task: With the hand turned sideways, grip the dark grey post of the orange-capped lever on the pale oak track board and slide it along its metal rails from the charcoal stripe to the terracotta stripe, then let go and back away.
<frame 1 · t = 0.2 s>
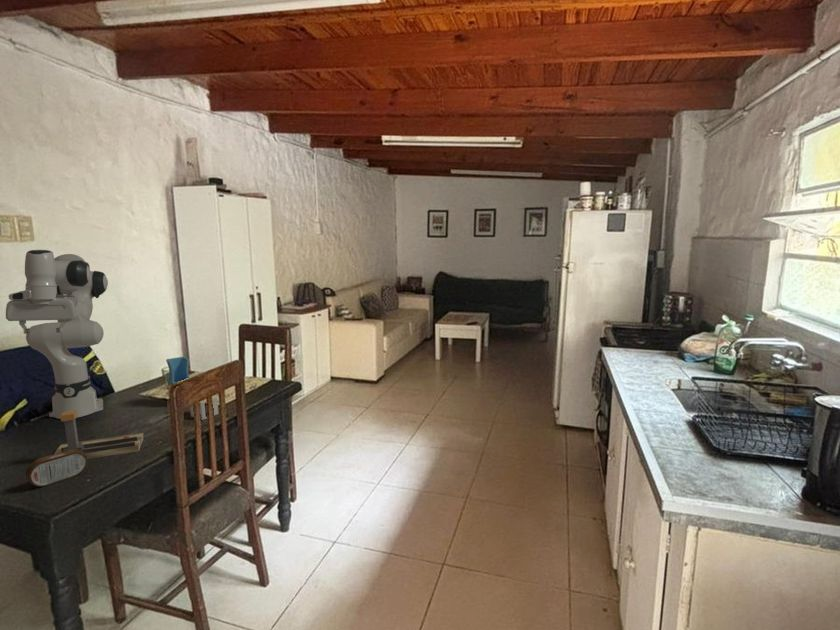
hand: (43, 333, 171), 39 cm above the table, tool pointing down, fingers open, 8 cm apart
fader lever: (71, 432, 157), point 9 cm above the table, slide at 0.0 cm
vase: (181, 403, 210), on the table
tin: (60, 481, 144), on the table
fader board: (100, 450, 164), on the table
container: (204, 415, 195), on the table
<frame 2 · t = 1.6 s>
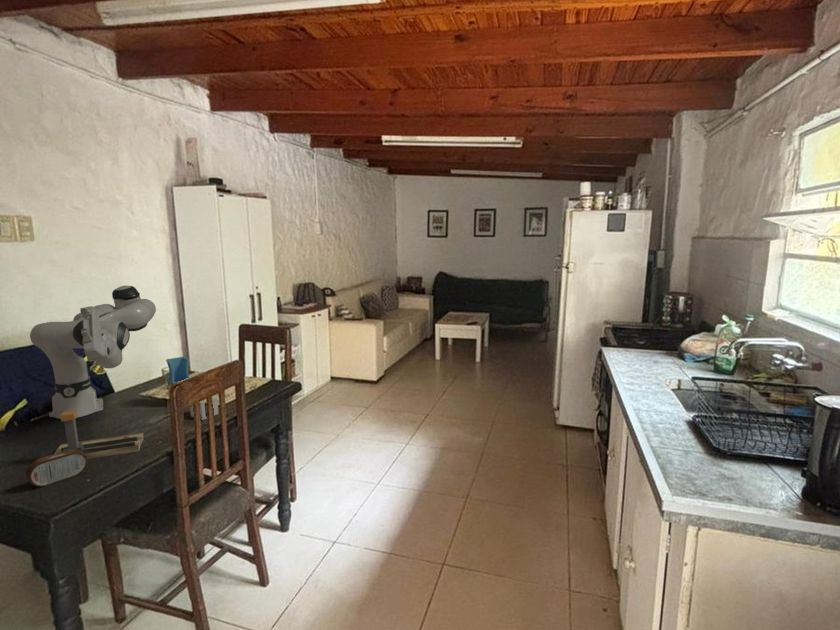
hand: (83, 319, 165), 44 cm above the table, tool pointing upward, fingers open, 8 cm apart
nothing on the table moved.
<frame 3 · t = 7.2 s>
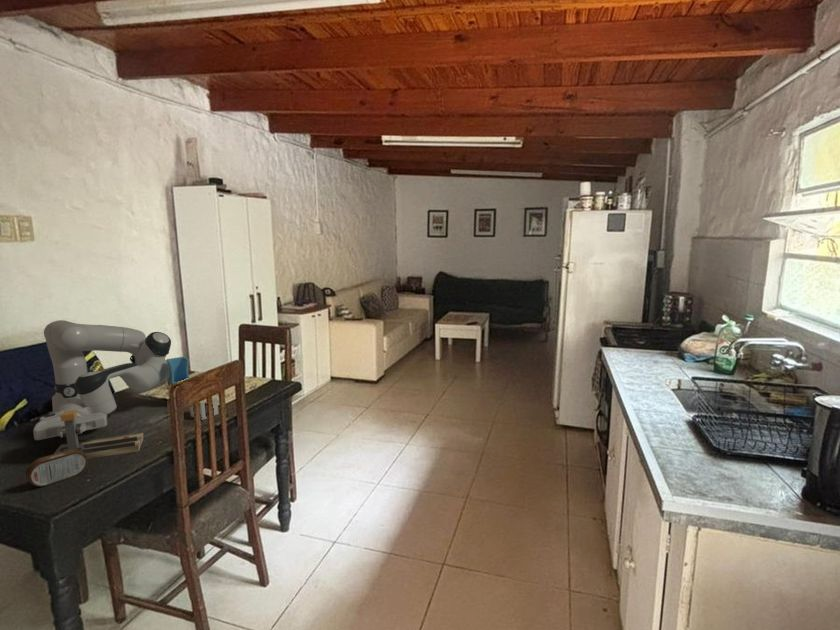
hand: (71, 433, 156), 9 cm above the table, tool horizontal, fingers closed on fader lever, 3 cm apart
fader lever: (71, 432, 157), point 9 cm above the table, slide at 0.0 cm, touching gripper
everything else where it was.
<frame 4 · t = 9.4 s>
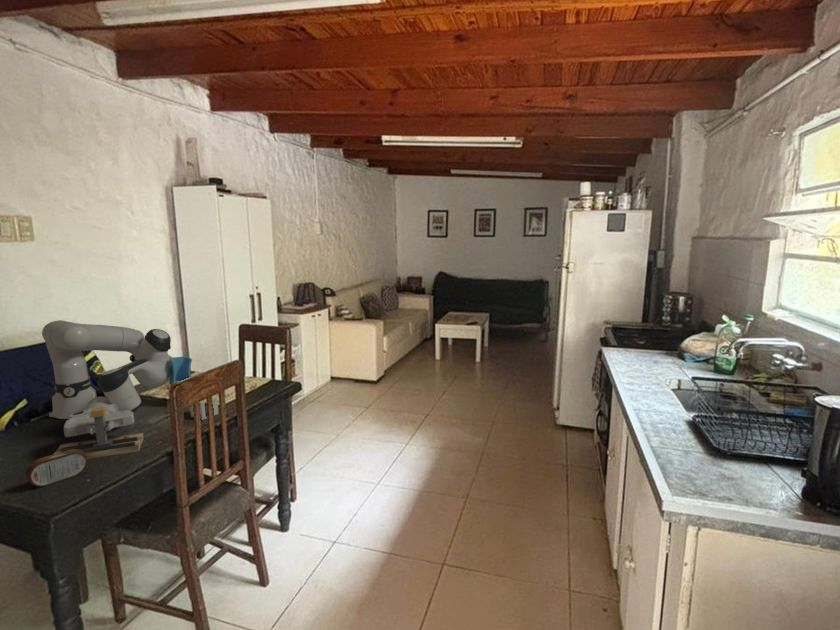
hand: (100, 430, 159), 9 cm above the table, tool horizontal, fingers closed on fader lever, 3 cm apart
fader lever: (100, 428, 160), point 9 cm above the table, slide at 8.3 cm, touching gripper
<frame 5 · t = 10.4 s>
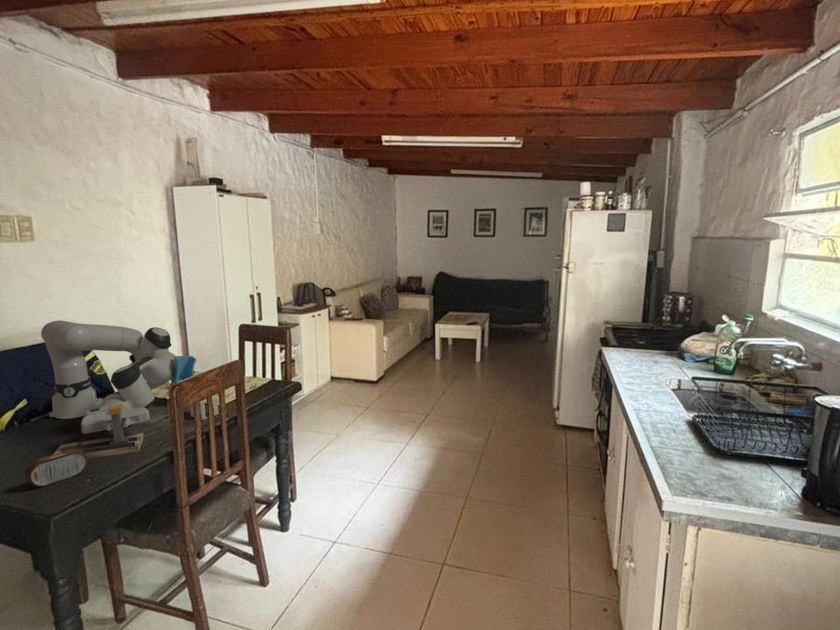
hand: (117, 427, 161), 9 cm above the table, tool horizontal, fingers closed on fader lever, 3 cm apart
fader lever: (117, 426, 162), point 9 cm above the table, slide at 13.1 cm, touching gripper
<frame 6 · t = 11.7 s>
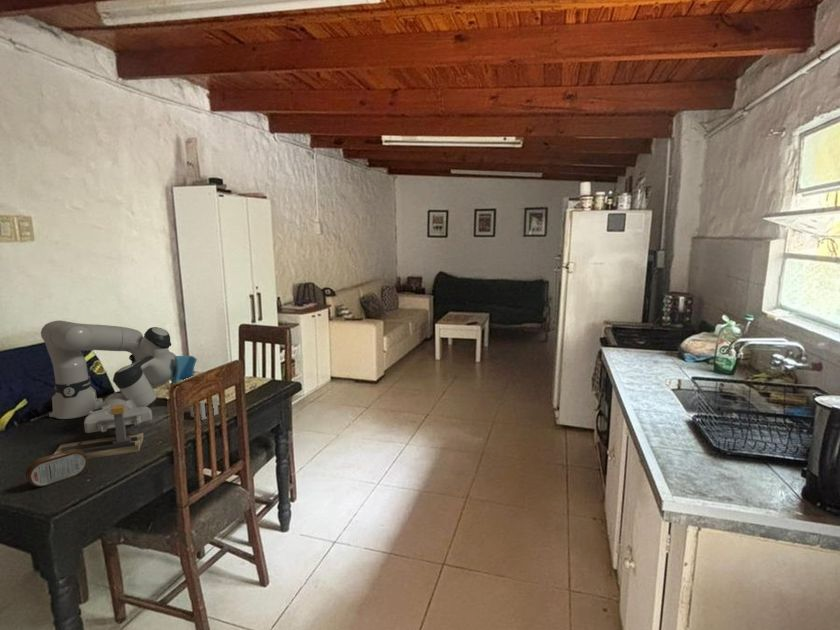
hand: (120, 426, 162), 9 cm above the table, tool horizontal, fingers open, 8 cm apart
fader lever: (120, 425, 162), point 9 cm above the table, slide at 13.9 cm
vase: (181, 402, 209), on the table, touching arm
everything else where it was.
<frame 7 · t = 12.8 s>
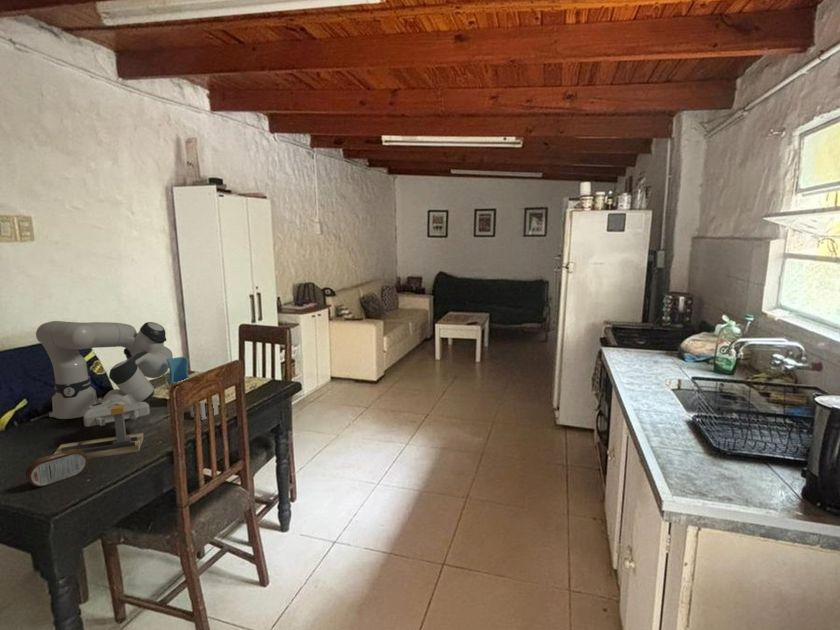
hand: (118, 420, 167), 9 cm above the table, tool horizontal, fingers open, 8 cm apart
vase: (181, 403, 210), on the table
everything else where it was.
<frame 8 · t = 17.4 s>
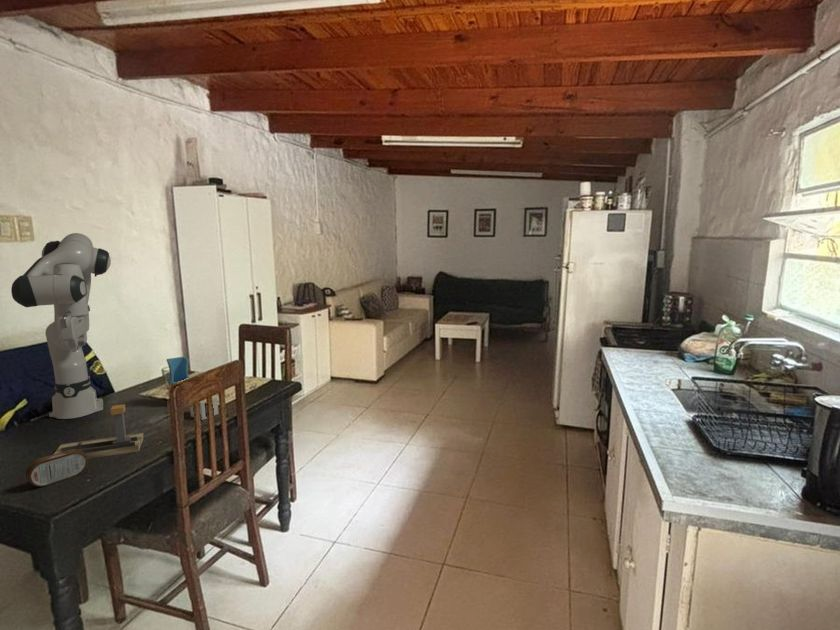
hand: (78, 348, 167), 34 cm above the table, tool pointing down, fingers open, 8 cm apart
nothing on the table moved.
at the end: fader lever slide at 13.9 cm; the gripper is holding nothing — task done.
